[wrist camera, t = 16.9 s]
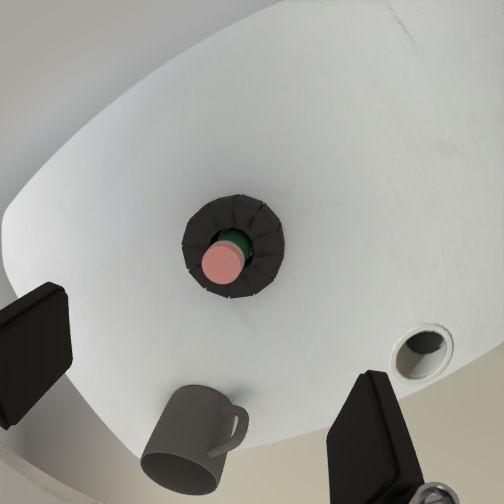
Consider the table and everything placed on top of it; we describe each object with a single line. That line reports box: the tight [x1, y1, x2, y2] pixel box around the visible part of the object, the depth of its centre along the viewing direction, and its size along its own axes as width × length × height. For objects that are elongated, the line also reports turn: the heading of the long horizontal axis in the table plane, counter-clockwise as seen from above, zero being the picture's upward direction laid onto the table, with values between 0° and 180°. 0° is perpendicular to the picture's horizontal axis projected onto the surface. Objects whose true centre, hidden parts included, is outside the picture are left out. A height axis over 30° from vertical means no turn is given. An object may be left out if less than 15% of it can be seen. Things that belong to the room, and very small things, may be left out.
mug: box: [140, 385, 249, 495], centre depth 32 cm, size 14×9×12 cm
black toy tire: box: [182, 194, 285, 298], centre depth 30 cm, size 9×9×4 cm
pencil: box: [202, 227, 253, 284], centre depth 28 cm, size 3×3×8 cm
